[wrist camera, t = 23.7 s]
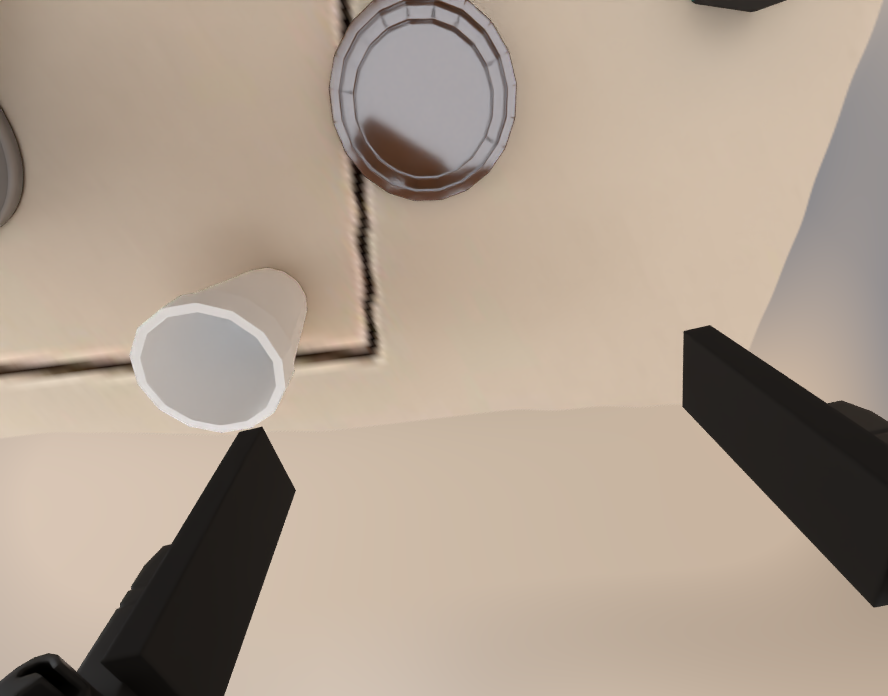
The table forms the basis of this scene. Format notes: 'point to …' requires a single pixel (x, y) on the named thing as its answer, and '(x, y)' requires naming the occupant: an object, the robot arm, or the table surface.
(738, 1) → the surveillance camera
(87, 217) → the table surface
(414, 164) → the brown round tray
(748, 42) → the table surface
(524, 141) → the table surface
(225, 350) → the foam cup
